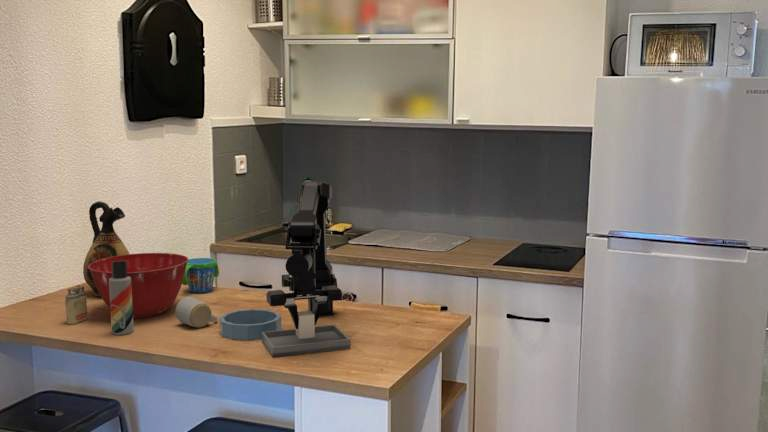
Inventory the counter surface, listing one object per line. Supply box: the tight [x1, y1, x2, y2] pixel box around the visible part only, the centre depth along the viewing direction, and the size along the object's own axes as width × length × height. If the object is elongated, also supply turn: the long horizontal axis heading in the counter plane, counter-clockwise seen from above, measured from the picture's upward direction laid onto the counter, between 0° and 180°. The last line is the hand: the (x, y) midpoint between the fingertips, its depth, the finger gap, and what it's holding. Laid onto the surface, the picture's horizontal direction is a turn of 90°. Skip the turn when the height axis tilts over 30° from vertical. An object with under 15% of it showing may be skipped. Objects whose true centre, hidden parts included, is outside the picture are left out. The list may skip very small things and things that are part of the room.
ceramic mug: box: [175, 296, 218, 329], centre depth 227 cm, size 11×8×8 cm
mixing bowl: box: [88, 252, 189, 319], centre depth 240 cm, size 28×28×15 cm
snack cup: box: [182, 257, 220, 294], centre depth 265 cm, size 16×10×10 cm
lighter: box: [64, 284, 88, 325], centre depth 230 cm, size 7×4×10 cm, turn 163°
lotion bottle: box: [109, 261, 134, 336], centre depth 219 cm, size 6×6×20 cm
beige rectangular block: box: [295, 310, 316, 339], centre depth 208 cm, size 4×4×6 cm
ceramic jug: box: [82, 200, 130, 298], centre depth 261 cm, size 17×15×30 cm
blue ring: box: [219, 308, 282, 341], centre depth 221 cm, size 16×16×4 cm
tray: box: [261, 324, 351, 358], centre depth 209 cm, size 20×14×2 cm
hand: (305, 328), depth 208 cm, fingers closed on beige rectangular block, 4 cm apart
